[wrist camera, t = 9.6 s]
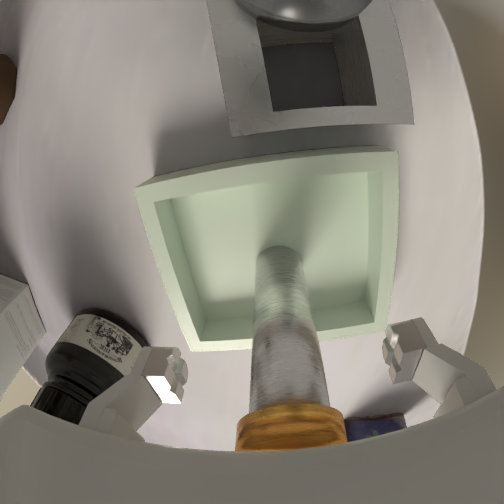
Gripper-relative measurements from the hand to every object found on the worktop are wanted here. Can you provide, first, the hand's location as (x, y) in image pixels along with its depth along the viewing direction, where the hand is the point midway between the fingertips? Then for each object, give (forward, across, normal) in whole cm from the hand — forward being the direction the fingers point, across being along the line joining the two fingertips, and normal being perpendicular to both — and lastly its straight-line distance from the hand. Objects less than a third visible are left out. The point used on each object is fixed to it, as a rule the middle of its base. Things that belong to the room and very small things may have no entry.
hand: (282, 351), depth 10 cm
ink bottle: (+9, +17, +8) cm, 21 cm away
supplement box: (+9, +30, +3) cm, 32 cm away
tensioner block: (+9, -3, -12) cm, 16 cm away
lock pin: (+8, 0, +1) cm, 8 cm away
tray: (+9, 0, 0) cm, 9 cm away
